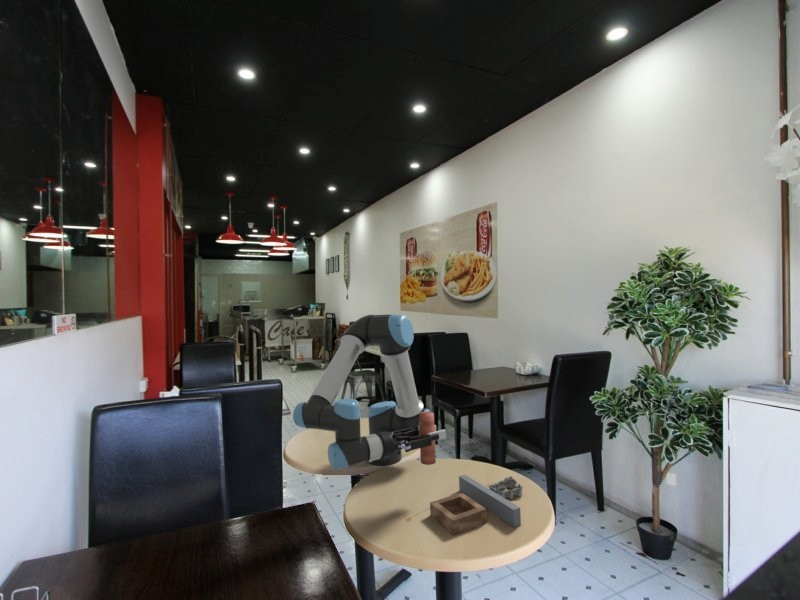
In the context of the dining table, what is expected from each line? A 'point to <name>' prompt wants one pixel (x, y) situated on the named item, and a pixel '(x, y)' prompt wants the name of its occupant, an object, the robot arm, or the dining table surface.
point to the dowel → (427, 427)
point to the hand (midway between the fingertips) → (440, 431)
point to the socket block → (460, 522)
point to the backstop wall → (490, 500)
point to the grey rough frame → (502, 486)
